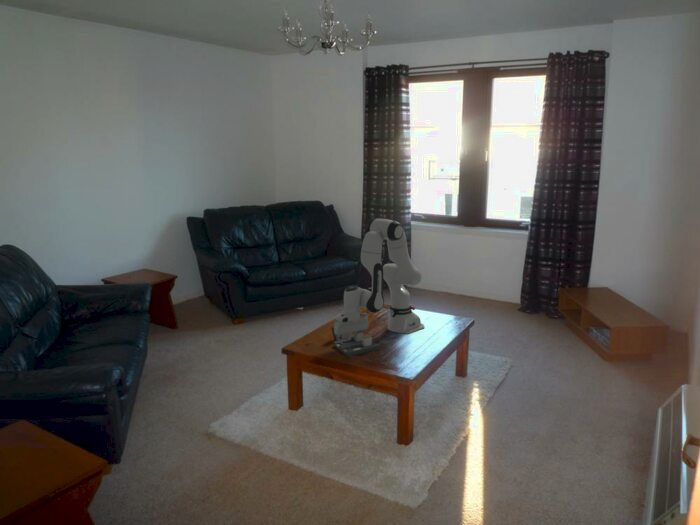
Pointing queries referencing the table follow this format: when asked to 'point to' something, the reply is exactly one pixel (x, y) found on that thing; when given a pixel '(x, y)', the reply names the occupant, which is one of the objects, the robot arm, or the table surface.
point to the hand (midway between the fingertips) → (351, 339)
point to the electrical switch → (339, 336)
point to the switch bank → (355, 347)
